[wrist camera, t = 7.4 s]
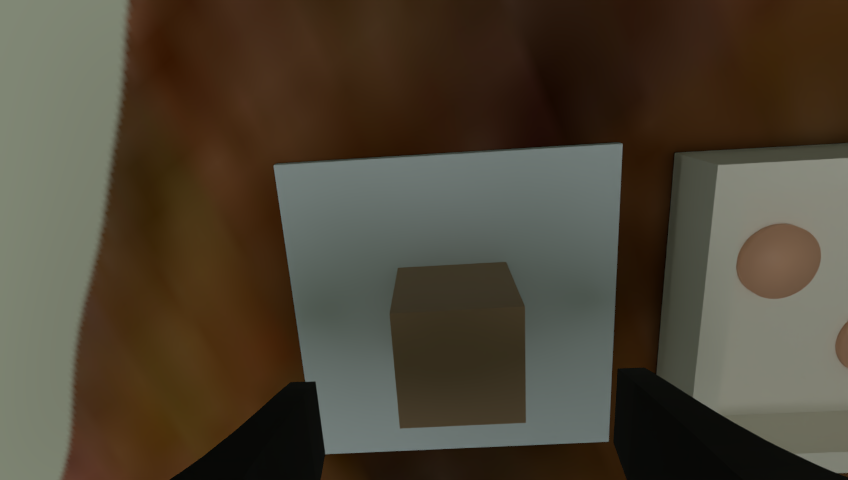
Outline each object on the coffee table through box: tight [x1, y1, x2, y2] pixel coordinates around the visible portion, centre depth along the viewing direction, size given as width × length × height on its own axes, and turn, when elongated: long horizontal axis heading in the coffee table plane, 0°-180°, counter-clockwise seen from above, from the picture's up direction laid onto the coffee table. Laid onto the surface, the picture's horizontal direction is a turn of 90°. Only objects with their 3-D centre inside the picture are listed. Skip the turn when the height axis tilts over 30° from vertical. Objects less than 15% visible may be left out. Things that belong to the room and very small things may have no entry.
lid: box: [274, 142, 623, 454], centre depth 16 cm, size 11×11×4 cm
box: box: [656, 143, 848, 473], centre depth 16 cm, size 10×10×2 cm
